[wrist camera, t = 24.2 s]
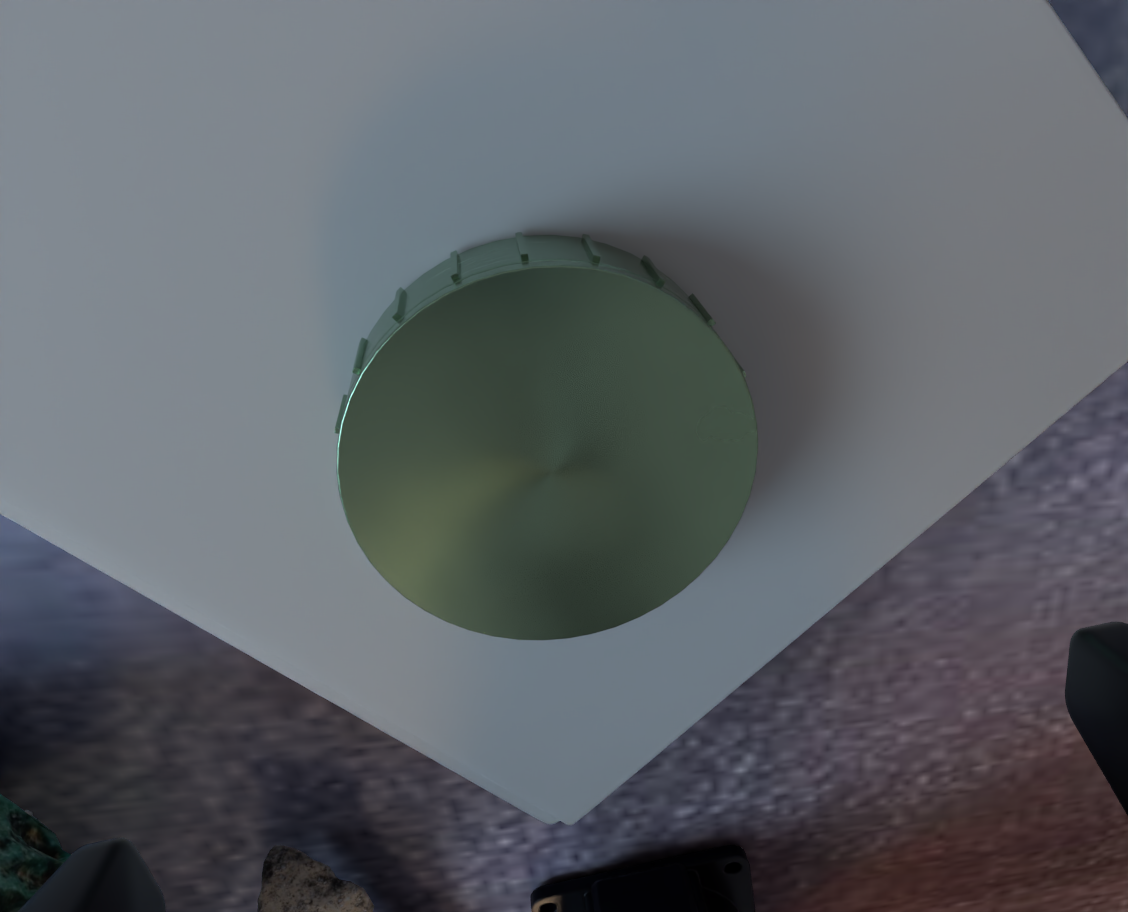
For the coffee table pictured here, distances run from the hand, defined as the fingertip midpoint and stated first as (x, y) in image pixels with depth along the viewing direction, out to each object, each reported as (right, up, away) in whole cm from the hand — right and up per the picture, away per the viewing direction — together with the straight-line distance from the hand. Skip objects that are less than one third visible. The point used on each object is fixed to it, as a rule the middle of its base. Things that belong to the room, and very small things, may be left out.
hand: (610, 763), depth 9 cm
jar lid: (-1, +3, +6) cm, 7 cm away
